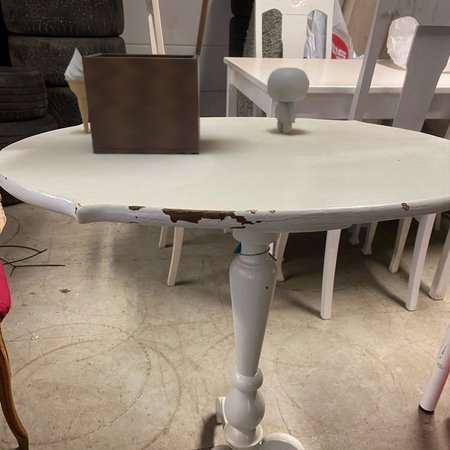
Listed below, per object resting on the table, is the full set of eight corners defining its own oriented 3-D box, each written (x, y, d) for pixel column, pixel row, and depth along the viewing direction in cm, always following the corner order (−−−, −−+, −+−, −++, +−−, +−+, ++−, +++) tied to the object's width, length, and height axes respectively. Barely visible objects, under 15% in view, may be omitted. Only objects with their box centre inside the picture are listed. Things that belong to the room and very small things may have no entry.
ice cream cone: (69, 135, 91) (56, 47, 84) (76, 129, 96) (64, 46, 88) (98, 135, 91) (88, 48, 84) (103, 130, 96) (94, 47, 89)
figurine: (310, 134, 95) (317, 68, 89) (278, 137, 92) (282, 69, 86) (289, 127, 101) (294, 66, 95) (259, 130, 98) (262, 66, 92)
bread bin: (93, 153, 78) (81, 56, 71) (107, 138, 89) (98, 53, 82) (198, 154, 78) (197, 58, 71) (200, 139, 89) (199, 54, 82)
